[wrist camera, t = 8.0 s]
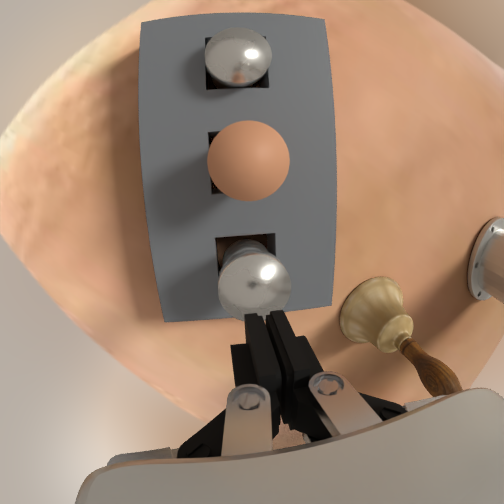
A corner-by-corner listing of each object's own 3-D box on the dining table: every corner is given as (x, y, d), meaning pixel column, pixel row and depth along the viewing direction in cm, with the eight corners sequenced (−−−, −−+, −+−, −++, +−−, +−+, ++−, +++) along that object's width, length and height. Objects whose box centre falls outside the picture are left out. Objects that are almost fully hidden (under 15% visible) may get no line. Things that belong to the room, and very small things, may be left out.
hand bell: (397, 263, 28) (504, 340, 13) (404, 320, 30) (484, 402, 15) (331, 296, 28) (418, 409, 13) (346, 352, 31) (411, 455, 15)
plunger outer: (259, 52, 19) (269, 27, 14) (261, 98, 21) (273, 82, 16) (206, 53, 19) (204, 28, 14) (207, 100, 20) (205, 84, 15)
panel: (309, 36, 19) (324, 19, 16) (316, 286, 27) (331, 305, 23) (151, 41, 18) (141, 22, 14) (170, 299, 26) (164, 322, 22)
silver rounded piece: (274, 231, 21) (291, 252, 16) (275, 285, 22) (290, 317, 18) (214, 236, 21) (214, 259, 16) (219, 290, 22) (221, 325, 17)
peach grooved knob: (270, 129, 19) (287, 120, 14) (273, 189, 20) (290, 199, 15) (207, 132, 18) (205, 122, 14) (211, 194, 20) (210, 204, 15)
